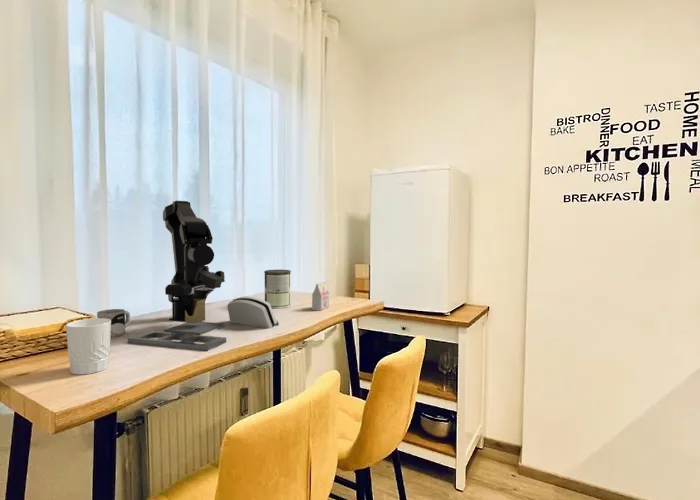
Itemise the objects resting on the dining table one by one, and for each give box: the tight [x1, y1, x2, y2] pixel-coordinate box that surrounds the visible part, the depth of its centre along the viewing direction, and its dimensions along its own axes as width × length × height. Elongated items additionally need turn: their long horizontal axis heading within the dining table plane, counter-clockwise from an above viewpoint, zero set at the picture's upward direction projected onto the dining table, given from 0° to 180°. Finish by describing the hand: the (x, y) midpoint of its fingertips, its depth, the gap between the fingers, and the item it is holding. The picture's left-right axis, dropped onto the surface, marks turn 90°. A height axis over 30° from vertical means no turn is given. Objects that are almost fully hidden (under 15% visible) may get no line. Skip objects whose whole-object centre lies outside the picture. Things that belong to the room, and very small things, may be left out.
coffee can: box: [263, 269, 292, 310], centre depth 153 cm, size 10×10×14 cm
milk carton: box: [311, 282, 330, 312], centre depth 149 cm, size 4×7×10 cm, turn 157°
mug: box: [96, 308, 131, 338], centre depth 111 cm, size 10×7×7 cm
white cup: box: [65, 317, 112, 376], centre depth 82 cm, size 8×8×10 cm
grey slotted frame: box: [127, 330, 227, 352], centre depth 102 cm, size 24×8×1 cm, turn 75°
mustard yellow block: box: [184, 298, 206, 323], centre depth 117 cm, size 4×4×6 cm
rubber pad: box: [163, 321, 225, 335], centre depth 117 cm, size 12×12×1 cm
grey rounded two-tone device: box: [227, 296, 280, 329], centre depth 123 cm, size 17×5×10 cm, turn 62°
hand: (195, 314), depth 117 cm, fingers closed on mustard yellow block, 4 cm apart
